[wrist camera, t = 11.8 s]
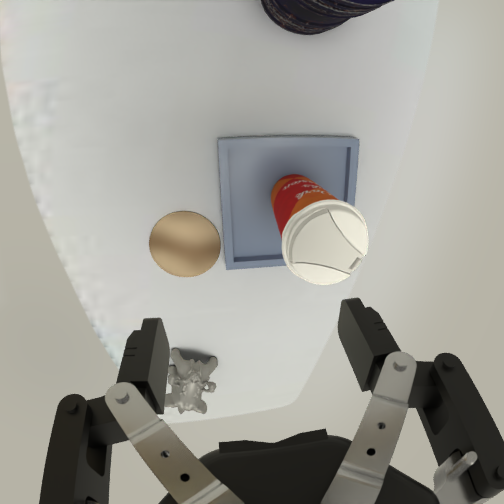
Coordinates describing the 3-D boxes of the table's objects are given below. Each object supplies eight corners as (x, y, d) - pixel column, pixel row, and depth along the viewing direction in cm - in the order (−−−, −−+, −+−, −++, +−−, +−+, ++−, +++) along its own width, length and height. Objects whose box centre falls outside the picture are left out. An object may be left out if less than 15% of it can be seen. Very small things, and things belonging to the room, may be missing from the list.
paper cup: (336, 186, 38) (390, 234, 25) (301, 236, 40) (337, 302, 28) (283, 152, 35) (321, 185, 23) (248, 206, 38) (264, 266, 25)
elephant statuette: (217, 345, 49) (217, 380, 42) (220, 392, 54) (221, 426, 47) (159, 345, 48) (152, 379, 41) (170, 392, 53) (166, 425, 46)
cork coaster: (144, 214, 37) (143, 216, 37) (217, 208, 38) (217, 209, 38) (156, 277, 42) (155, 279, 41) (222, 272, 42) (222, 274, 42)
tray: (217, 138, 34) (217, 140, 33) (353, 136, 35) (359, 139, 34) (225, 262, 42) (226, 269, 40) (343, 254, 43) (347, 260, 41)
